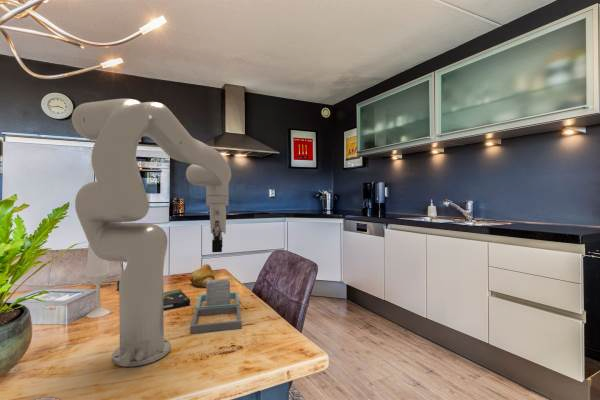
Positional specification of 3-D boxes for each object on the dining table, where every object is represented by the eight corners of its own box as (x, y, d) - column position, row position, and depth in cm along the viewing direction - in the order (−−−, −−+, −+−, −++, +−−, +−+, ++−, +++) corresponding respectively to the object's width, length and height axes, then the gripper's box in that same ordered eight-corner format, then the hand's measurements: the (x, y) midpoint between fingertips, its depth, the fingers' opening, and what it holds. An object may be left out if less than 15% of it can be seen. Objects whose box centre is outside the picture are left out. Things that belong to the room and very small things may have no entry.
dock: (241, 328, 90) (241, 321, 90) (190, 333, 87) (190, 326, 86) (237, 297, 118) (237, 291, 118) (199, 300, 115) (199, 294, 115)
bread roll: (218, 287, 132) (218, 268, 132) (194, 290, 127) (194, 271, 127) (210, 280, 143) (209, 262, 143) (188, 283, 138) (187, 265, 138)
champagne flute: (107, 316, 100) (106, 241, 99) (82, 318, 98) (81, 242, 97) (112, 309, 106) (112, 238, 106) (89, 311, 104) (89, 239, 104)
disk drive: (190, 307, 109) (180, 295, 121) (190, 299, 109) (180, 288, 121) (159, 313, 103) (151, 301, 116) (159, 305, 103) (151, 293, 115)
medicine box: (229, 302, 113) (228, 278, 113) (230, 306, 108) (230, 281, 108) (206, 304, 110) (206, 280, 110) (206, 308, 106) (206, 283, 106)
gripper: (228, 201, 102) (228, 253, 102) (228, 201, 118) (228, 246, 118) (204, 201, 100) (204, 254, 100) (207, 201, 117) (207, 246, 117)
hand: (217, 249), depth 109 cm, fingers open, 9 cm apart
